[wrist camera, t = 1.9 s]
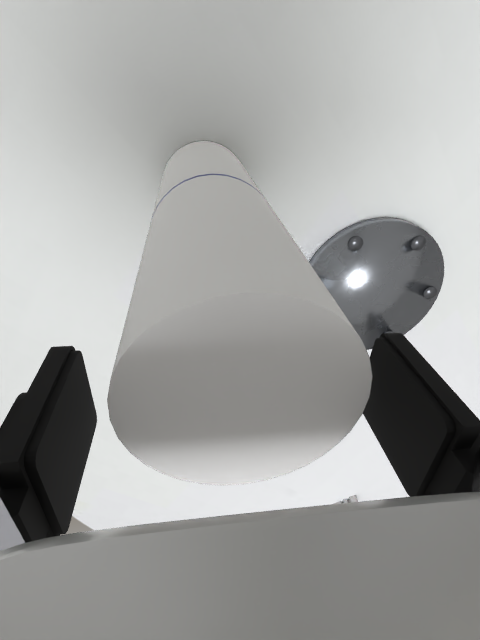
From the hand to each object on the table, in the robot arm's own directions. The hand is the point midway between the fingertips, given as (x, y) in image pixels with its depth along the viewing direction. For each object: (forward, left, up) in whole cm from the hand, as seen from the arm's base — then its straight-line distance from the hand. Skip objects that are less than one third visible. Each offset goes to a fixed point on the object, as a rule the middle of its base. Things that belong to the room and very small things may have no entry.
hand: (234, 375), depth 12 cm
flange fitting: (+10, +13, -23) cm, 28 cm away
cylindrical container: (0, 0, -23) cm, 23 cm away
